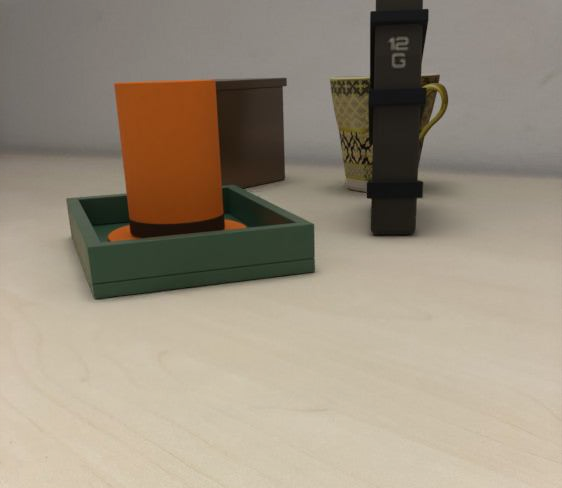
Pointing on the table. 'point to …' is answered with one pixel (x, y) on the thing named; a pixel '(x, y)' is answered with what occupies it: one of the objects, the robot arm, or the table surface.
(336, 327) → the table surface
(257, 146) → the stand
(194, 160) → the hat
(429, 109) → the ceramic cup
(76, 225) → the tray
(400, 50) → the magazine
